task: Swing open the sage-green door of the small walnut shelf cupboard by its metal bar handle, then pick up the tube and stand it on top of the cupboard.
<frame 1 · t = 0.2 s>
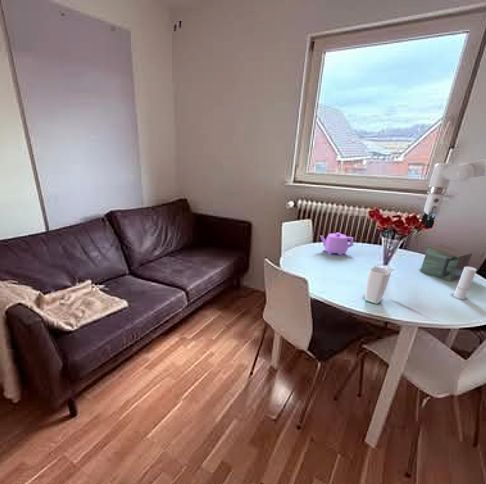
hand: (426, 225, 156), 27 cm above the table, tool pointing down, fingers open, 9 cm apart
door: (436, 265, 160), point 7 cm above the table, hinge at 0.0°
cup: (372, 301, 139), on the table
tube: (458, 298, 142), on the table
cupboard: (441, 274, 166), on the table
teapot: (334, 252, 196), on the table
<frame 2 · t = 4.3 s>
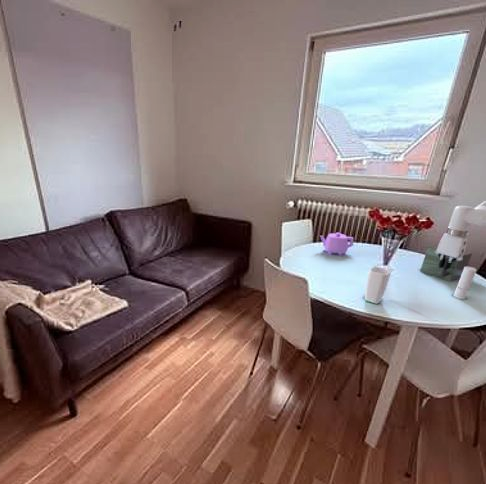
hand: (443, 268, 154), 8 cm above the table, tool pointing down, fingers closed on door, 2 cm apart
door: (436, 265, 160), point 7 cm above the table, hinge at 0.0°, touching gripper
everything else where it was.
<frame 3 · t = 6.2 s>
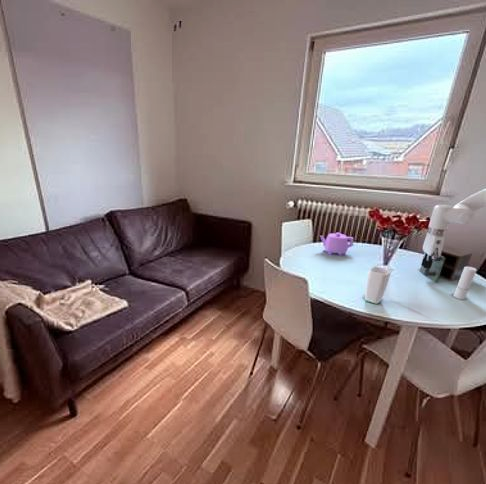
hand: (425, 266, 156), 8 cm above the table, tool pointing down, fingers closed on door, 2 cm apart
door: (426, 264, 160), point 7 cm above the table, hinge at 33.3°, touching gripper
everything else where it was.
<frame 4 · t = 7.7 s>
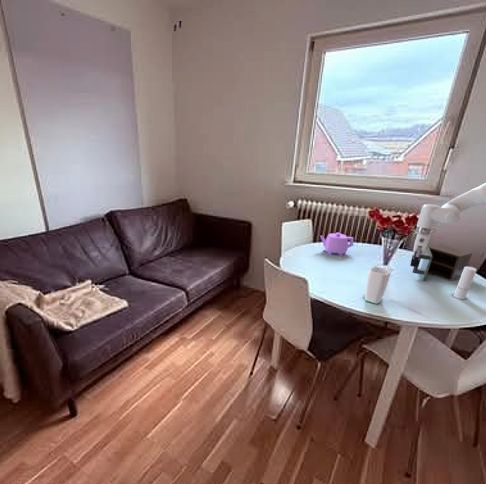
hand: (414, 264, 159), 8 cm above the table, tool pointing down, fingers open, 4 cm apart
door: (420, 263, 162), point 7 cm above the table, hinge at 54.4°
everything else where it was.
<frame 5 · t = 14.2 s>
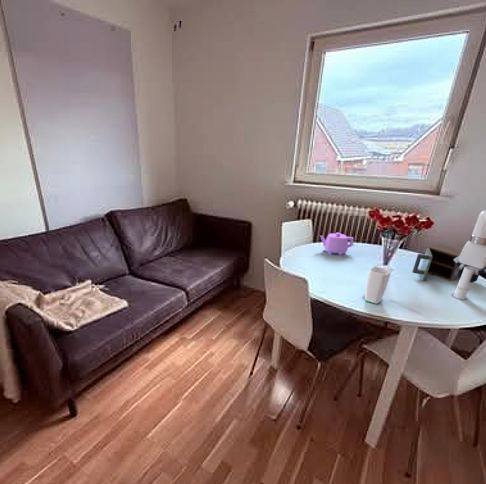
hand: (466, 279, 138), 10 cm above the table, tool pointing down, fingers closed on tube, 4 cm apart
tube: (458, 298, 142), on the table, touching gripper
everything else where it was.
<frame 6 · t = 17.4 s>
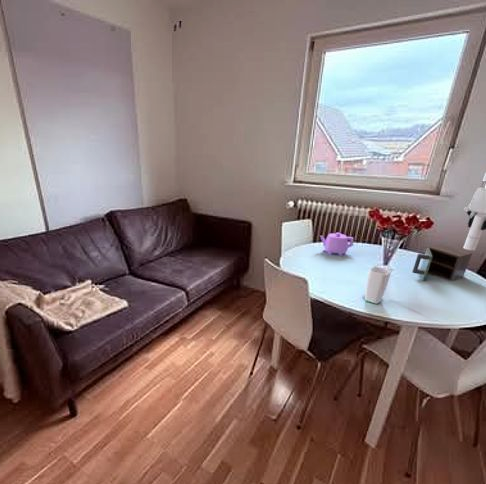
hand: (476, 227, 137), 31 cm above the table, tool pointing down, fingers closed on tube, 4 cm apart
tube: (469, 249, 141), point 21 cm above the table, touching gripper
everything else where it was.
when the fingers open (24 cm above the table, at t = 20.9 s): tube stays where it is, resting on cupboard.
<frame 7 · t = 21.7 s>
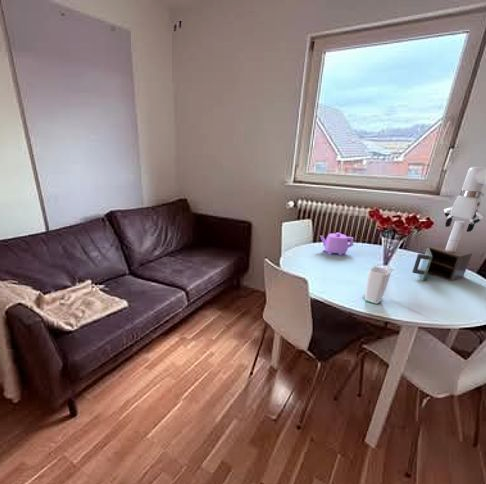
hand: (457, 228, 156), 25 cm above the table, tool pointing down, fingers open, 9 cm apart
tube: (450, 250, 160), point 14 cm above the table, touching cupboard
everything else where it was.
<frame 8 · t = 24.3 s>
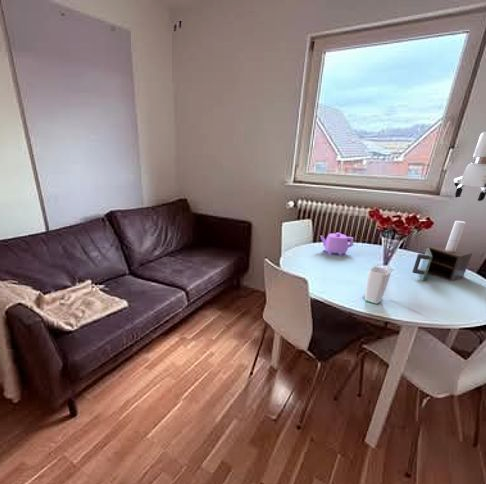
hand: (468, 198, 149), 40 cm above the table, tool pointing down, fingers open, 9 cm apart
nothing on the table moved.
at the end: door at +54° (first picture: +0°); tube inside the target area on the cupboard (0.1 cm from its centre), point 13.8 cm above the cupboard's base; tube tilted 0° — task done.
